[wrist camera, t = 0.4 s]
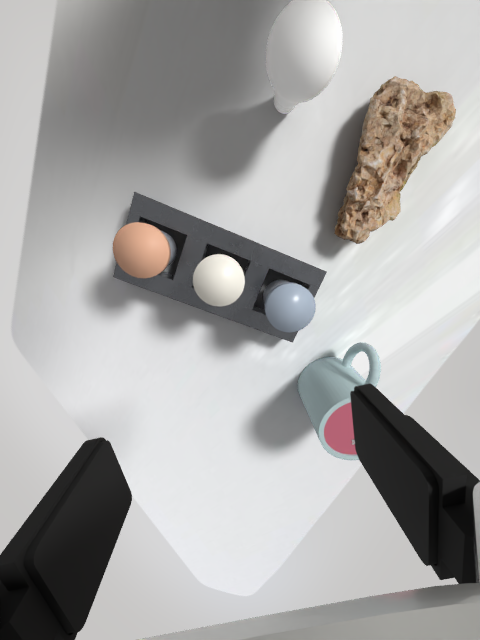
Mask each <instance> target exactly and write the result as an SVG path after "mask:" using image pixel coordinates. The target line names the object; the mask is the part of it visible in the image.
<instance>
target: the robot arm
mask: <svg viewBox="0 0 480 640" xmlns="http://www.w3.org/2000/svg"><path fill="white" fill-rule="evenodd" d="M350 397H351V408H352V419H353V430H354V440H355V450H356V453H357V456H358V458H359V460H360V462H361V463H362V465H363V466H364V468H365V470H366V471H367V473H368V474H369V476H370V478H371V479H372V481H373V483H374V484H375V486H376V488H377V489H378V491H379V492H380V494H381V496H382V497H383V499H384V500H385V502H386V504H387V505H388V507H389V509H390V510H391V512H392V514H393V515H394V517H395V518H396V520H397V522H398V523H399V525H400V527H401V528H402V530H403V531H404V533H405V535H406V536H407V538H408V539H409V541H410V543H411V544H412V546H413V547H414V549H415V551H416V552H417V554H418V556H419V557H420V559H421V560H422V561H423V563H424V564H425V565H426V566H428V565H431V566H432V568H433V569H434V571H435V572H436V574H437V575H438V577H439V579H440V580H443V579H449V578H454V577H455V579H456V580H457V582H458V583H459V584H457V585H456V584H455V585H445V586H434V587H428V588H422V589H415V590H408V591H402V592H396V593H389V594H383V595H377V596H370V597H365V598H359V599H354V600H348V601H343V602H337V603H331V604H326V605H320V606H315V607H309V608H304V609H299V610H293V611H288V612H282V613H277V614H271V615H265V616H260V617H255V618H249V619H244V620H239V621H234V622H228V623H223V624H217V625H212V626H207V627H201V628H196V629H191V630H186V631H180V632H175V633H170V634H164V635H160V636H154V637H149V638H144V639H138V640H480V481H479V479H478V478H476V477H475V476H474V475H473V474H472V473H471V472H470V471H469V470H468V469H467V468H466V467H465V466H464V465H462V464H461V463H460V462H459V461H458V460H457V459H456V458H455V457H454V456H453V455H452V454H451V453H449V452H448V451H447V450H446V449H445V448H444V447H443V446H442V445H441V444H440V443H439V442H438V441H437V440H435V439H434V438H433V437H432V436H431V435H430V434H429V433H428V432H427V431H426V430H425V429H424V428H423V427H421V426H420V425H419V424H418V423H417V422H416V421H415V420H414V419H413V418H411V417H410V416H407V415H404V414H403V413H402V412H401V411H400V410H399V409H398V408H397V407H396V406H394V405H393V404H392V403H391V402H390V401H389V400H388V399H387V398H386V397H385V396H384V395H383V394H382V393H381V392H380V391H379V390H378V389H377V388H376V387H375V386H373V385H372V384H370V383H369V384H364V385H360V386H355V387H354V391H351V392H350ZM131 501H132V494H131V491H130V489H129V486H128V484H127V482H126V479H125V477H124V474H123V472H122V470H121V467H120V465H119V463H118V460H117V458H116V455H115V453H114V451H113V448H112V446H111V443H110V442H109V441H106V440H105V439H104V438H97V439H92V440H87V441H85V442H84V443H83V445H82V446H81V448H80V449H79V450H78V451H77V453H76V454H75V455H74V457H73V458H72V459H71V461H70V462H69V463H68V465H67V466H66V467H65V469H64V470H63V472H62V473H61V474H60V476H59V477H58V478H57V480H56V481H55V482H54V484H53V485H52V486H51V488H50V489H49V490H48V492H47V493H46V495H45V496H44V497H43V499H42V500H41V501H40V502H39V504H38V505H37V507H36V508H35V509H34V510H33V512H32V513H31V514H30V516H29V517H28V518H27V520H26V521H25V522H24V524H23V525H22V527H21V528H20V529H19V531H18V532H17V533H16V535H15V536H14V537H13V539H12V540H11V541H10V543H9V544H8V545H7V547H6V548H5V549H4V551H3V552H2V553H1V555H0V640H75V638H76V635H77V633H78V632H79V631H80V630H81V629H82V628H83V626H84V624H85V622H86V619H87V617H88V614H89V612H90V609H91V606H92V604H93V601H94V599H95V596H96V593H97V591H98V588H99V586H100V583H101V580H102V578H103V575H104V572H105V570H106V567H107V565H108V562H109V559H110V557H111V554H112V552H113V549H114V547H115V544H116V541H117V539H118V536H119V534H120V531H121V528H122V526H123V523H124V520H125V518H126V515H127V513H128V510H129V508H130V505H131Z"/></svg>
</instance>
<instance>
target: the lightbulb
mask: <svg viewBox="0 0 480 640" xmlns="http://www.w3.org/2000/svg"><path fill="white" fill-rule="evenodd" d="M342 42H343V37H342V27H341V22H340V20H339V17H338V14H337V12H336V10H335V9H334V7H333V6H332V5H331V4H330V2H329V1H327V0H293V1H291V2H290V3H289V4H287V6H286V7H285V8H284V9H283V10H282V11H281V13H280V14H279V15H278V17H277V19H276V20H275V22H274V24H273V26H272V29H271V31H270V34H269V37H268V42H267V47H266V68H267V74H268V77H269V81H270V83H271V85H272V87H273V88H274V94H275V95H274V105H275V107H276V109H277V110H278V111H279V112H280V113H283V114H287V113H289V112H291V111H292V110H293V109H294V108H295V106H296V105H297V104H298V103H301V102H306V101H309V100H311V99H313V98H314V97H316V96H317V95H318V94H320V93H321V92H322V91H323V90H324V89H325V88H326V87H327V85H328V84H329V82H330V81H331V79H332V78H333V76H334V74H335V72H336V70H337V67H338V64H339V60H340V57H341V51H342Z"/></svg>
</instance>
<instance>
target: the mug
mask: <svg viewBox="0 0 480 640" xmlns="http://www.w3.org/2000/svg"><path fill="white" fill-rule="evenodd" d="M361 351H364V352H365V353H366V354H367V356H368V358H369V363H370V369H369V375H368V378H367V380H365V379H364V378H363V377H362V376H361V375H360V374H359V373H358V372H357V371H356V370H355V369H354V368H353V367H352V366H351V363H352V360H353V358H354V357H355V355H356V354H357V353H359V352H361ZM380 372H381V365H380V359H379V356H378V354H377V352H376V350H375V349H374V348H373V347H372V346H371V345H369V344H367V343H357V344H355V345H353V346H352V347H350V349H349V350H348V351H347V352H346V354H345V356H344V358H343V359H340V358H336V357H325V358H321V359H318V360H316V361H314V362H312V363H310V364H309V365H308V366H307V367H306V368H305V369H304V370H303V371H302V373H301V375H300V377H299V380H298V392H299V395H300V397H301V400H302V402H303V404H304V406H305V408H306V411H307V413H308V415H309V417H310V420H311V422H312V424H313V426H314V429H315V431H316V433H317V435H318V438H319V440H320V442H321V444H322V446H323V448H324V449H325V450H326V451H327V452H328V453H329V454H331V455H333V456H335V457H337V458H340V459H344V460H359V458H358V456H357V453H356V450H355V440H354V430H353V419H352V408H351V397H350V392H351V391H354V387H355V386H360V385H364V384H369V383H370V384H372V385H373V386H375V387H376V386H377V383H378V381H379V378H380Z"/></svg>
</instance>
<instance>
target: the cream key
mask: <svg viewBox="0 0 480 640" xmlns="http://www.w3.org/2000/svg"><path fill="white" fill-rule="evenodd" d="M244 285H245V277H244V273H243V270H242V268H241V266H240V265H239V263H238V262H237V261H236V260H234V259H233V258H232V257H230V256H227V255H223V254H215V255H211V256H208V257H206V258H205V259H203V260H202V261H201V262H200V263H199V264H198V265H197V267H196V269H195V271H194V275H193V286H194V289H195V291H196V293H197V295H198V296H199V297H200V298H201V299H202V300H203V301H204V302H206V303H207V304H209V305H212V306H226V305H229V304H231V303H233V302H235V301H236V300H237V299H238V298H239V297H240V295H241V294H242V292H243V289H244Z"/></svg>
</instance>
